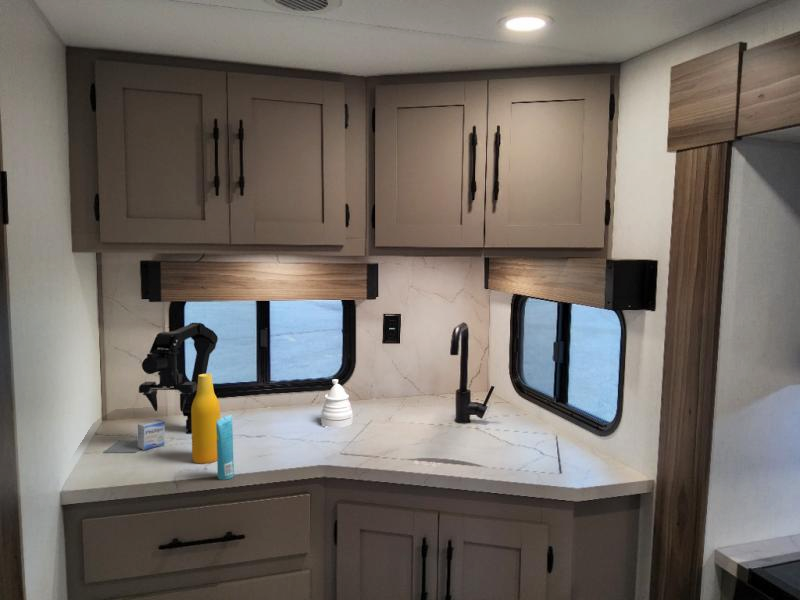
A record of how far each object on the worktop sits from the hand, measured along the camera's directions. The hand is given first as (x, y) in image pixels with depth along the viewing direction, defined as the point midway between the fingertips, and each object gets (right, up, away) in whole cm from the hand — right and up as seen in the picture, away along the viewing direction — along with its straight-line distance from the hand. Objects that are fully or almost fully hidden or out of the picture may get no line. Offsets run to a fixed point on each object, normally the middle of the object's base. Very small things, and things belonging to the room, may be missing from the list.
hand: (169, 410), depth 199 cm
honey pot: (+57, -11, +29) cm, 65 cm away
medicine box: (-7, -13, +1) cm, 15 cm away
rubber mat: (-15, -13, 0) cm, 20 cm away
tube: (+28, -16, -24) cm, 40 cm away
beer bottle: (+17, -15, -10) cm, 24 cm away
